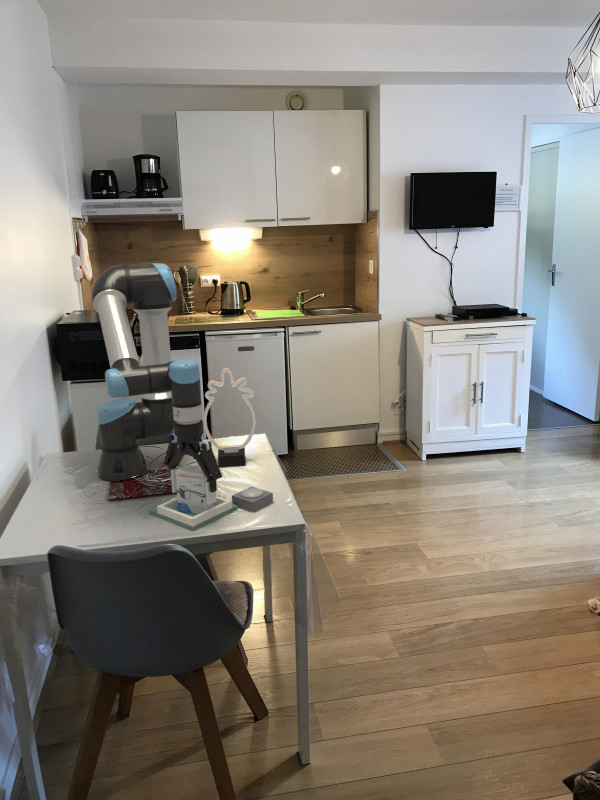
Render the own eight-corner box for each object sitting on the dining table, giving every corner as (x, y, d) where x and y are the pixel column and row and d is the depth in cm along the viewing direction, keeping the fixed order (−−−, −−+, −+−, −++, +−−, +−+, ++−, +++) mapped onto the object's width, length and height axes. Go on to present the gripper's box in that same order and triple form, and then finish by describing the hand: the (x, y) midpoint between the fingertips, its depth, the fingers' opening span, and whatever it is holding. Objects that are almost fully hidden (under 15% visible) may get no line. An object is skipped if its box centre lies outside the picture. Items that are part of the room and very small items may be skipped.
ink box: (177, 512, 173) (173, 470, 170) (186, 504, 177) (182, 464, 174) (206, 515, 170) (203, 473, 167) (214, 507, 175) (211, 466, 172)
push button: (232, 505, 179) (231, 493, 178) (252, 496, 185) (251, 484, 184) (253, 512, 174) (252, 500, 173) (273, 502, 180) (272, 490, 179)
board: (148, 513, 175) (147, 502, 174) (193, 494, 187) (192, 484, 186) (193, 530, 164) (192, 519, 163) (237, 509, 176) (236, 498, 175)
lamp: (257, 456, 218) (252, 363, 210) (258, 465, 209) (253, 369, 201) (206, 459, 216) (200, 366, 208) (205, 468, 208) (199, 372, 200)
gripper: (146, 416, 172) (153, 490, 177) (210, 432, 157) (216, 513, 162) (168, 410, 178) (174, 482, 183) (232, 424, 162) (237, 503, 168)
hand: (194, 496), depth 172 cm, fingers open, 13 cm apart
